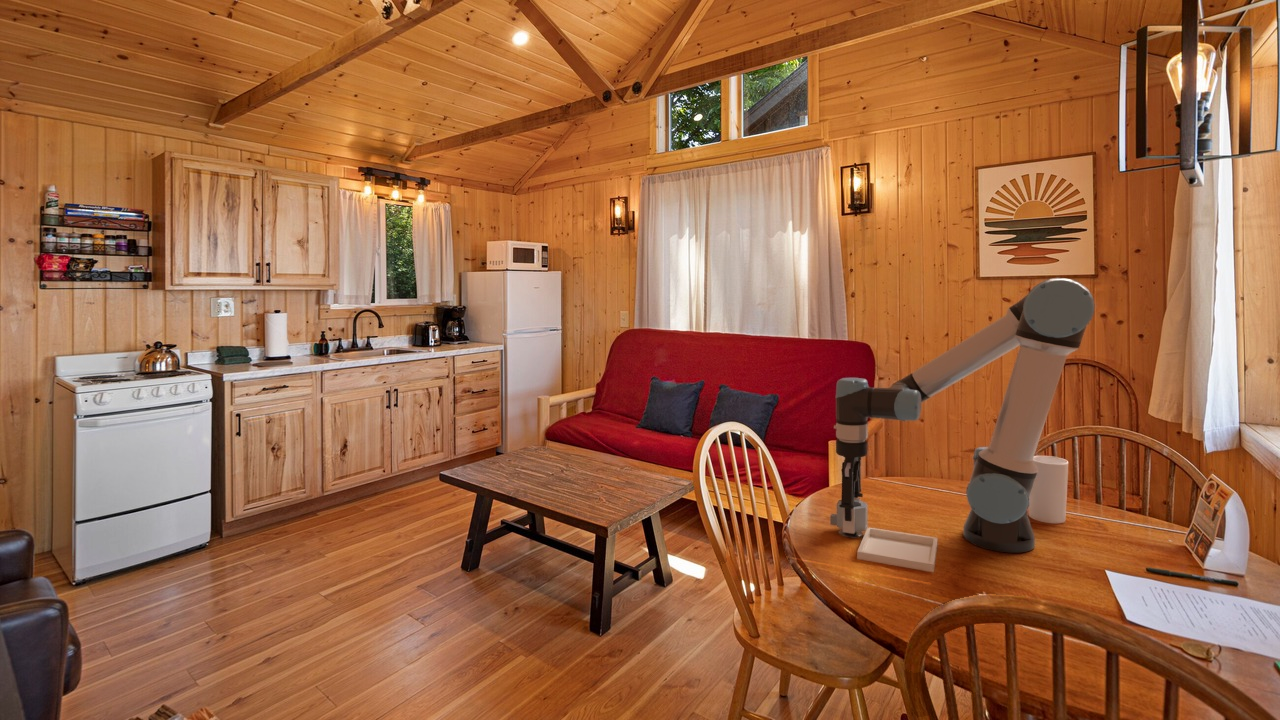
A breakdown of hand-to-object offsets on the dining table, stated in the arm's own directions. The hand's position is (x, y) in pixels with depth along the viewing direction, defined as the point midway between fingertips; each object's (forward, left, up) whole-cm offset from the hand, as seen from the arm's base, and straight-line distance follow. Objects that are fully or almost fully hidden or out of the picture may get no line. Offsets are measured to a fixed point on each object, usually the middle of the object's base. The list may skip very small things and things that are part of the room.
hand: (851, 526), depth 155 cm
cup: (-45, -33, -2) cm, 56 cm away
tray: (-12, +7, -2) cm, 14 cm away
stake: (0, 0, -2) cm, 2 cm away
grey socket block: (0, 0, 0) cm, 0 cm away
